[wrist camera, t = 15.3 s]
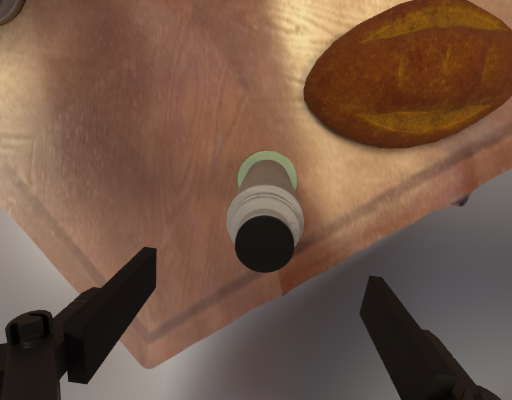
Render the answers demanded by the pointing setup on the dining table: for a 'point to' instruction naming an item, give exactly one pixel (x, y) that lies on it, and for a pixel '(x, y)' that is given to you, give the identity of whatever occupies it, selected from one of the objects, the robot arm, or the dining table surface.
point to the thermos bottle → (265, 218)
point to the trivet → (268, 156)
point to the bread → (413, 74)
